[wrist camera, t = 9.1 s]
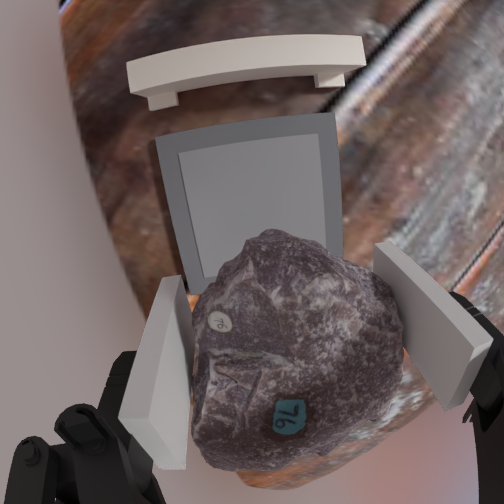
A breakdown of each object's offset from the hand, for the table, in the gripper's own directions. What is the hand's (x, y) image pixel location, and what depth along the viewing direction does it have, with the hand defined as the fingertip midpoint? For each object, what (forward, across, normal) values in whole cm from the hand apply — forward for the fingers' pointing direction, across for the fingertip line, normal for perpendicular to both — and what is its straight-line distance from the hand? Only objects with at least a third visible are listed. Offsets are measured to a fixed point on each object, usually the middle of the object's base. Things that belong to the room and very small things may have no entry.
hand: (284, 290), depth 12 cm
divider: (+12, +1, +11) cm, 16 cm away
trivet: (+12, 0, 0) cm, 12 cm away
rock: (+1, +1, 0) cm, 2 cm away
